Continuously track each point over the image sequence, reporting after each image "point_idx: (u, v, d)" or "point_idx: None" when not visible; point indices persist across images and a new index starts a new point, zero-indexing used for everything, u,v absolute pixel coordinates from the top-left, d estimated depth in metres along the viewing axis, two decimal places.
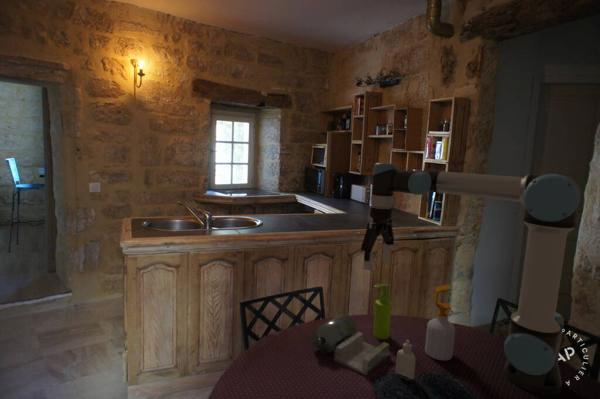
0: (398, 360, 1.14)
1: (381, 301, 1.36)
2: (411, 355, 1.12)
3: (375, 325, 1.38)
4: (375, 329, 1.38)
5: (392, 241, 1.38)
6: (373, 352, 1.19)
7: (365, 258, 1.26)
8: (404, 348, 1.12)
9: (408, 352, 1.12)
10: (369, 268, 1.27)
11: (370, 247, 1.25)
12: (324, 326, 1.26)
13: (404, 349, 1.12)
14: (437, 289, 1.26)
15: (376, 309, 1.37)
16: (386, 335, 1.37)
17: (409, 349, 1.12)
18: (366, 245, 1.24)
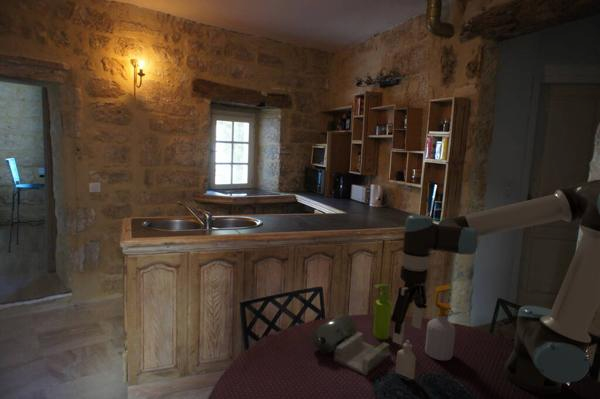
0: (398, 360, 1.14)
1: (381, 301, 1.36)
2: (411, 355, 1.12)
3: (375, 325, 1.38)
4: (375, 329, 1.38)
5: (424, 303, 1.18)
6: (373, 352, 1.19)
7: (396, 330, 1.06)
8: (404, 348, 1.12)
9: (408, 352, 1.12)
10: (400, 342, 1.06)
11: (402, 318, 1.05)
12: (324, 326, 1.26)
13: (404, 349, 1.12)
14: (437, 289, 1.26)
15: (376, 309, 1.37)
16: (386, 335, 1.37)
17: (409, 349, 1.12)
18: (398, 316, 1.04)
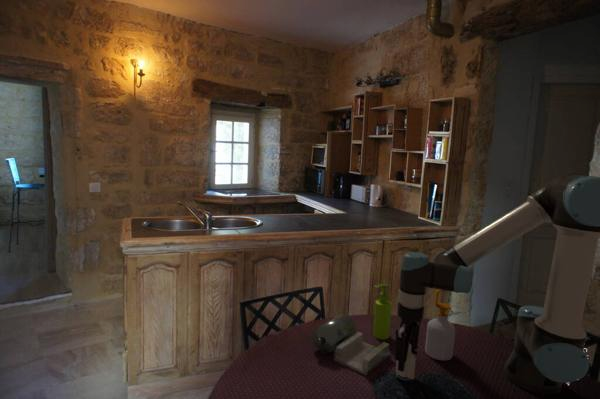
0: None
1: (381, 301, 1.36)
2: (411, 355, 1.12)
3: (375, 325, 1.38)
4: (375, 329, 1.38)
5: (415, 348, 1.16)
6: (373, 352, 1.19)
7: (399, 368, 1.11)
8: None
9: (408, 352, 1.12)
10: None
11: (404, 357, 1.10)
12: (324, 326, 1.26)
13: None
14: (437, 289, 1.26)
15: (376, 309, 1.37)
16: (386, 335, 1.37)
17: (409, 349, 1.12)
18: (400, 357, 1.08)
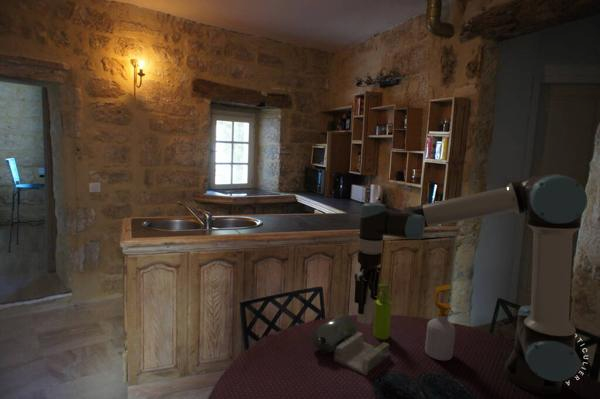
0: None
1: (381, 301, 1.36)
2: (370, 299, 1.19)
3: (375, 325, 1.38)
4: (375, 329, 1.38)
5: (375, 295, 1.23)
6: (373, 352, 1.19)
7: (359, 311, 1.19)
8: None
9: (367, 296, 1.20)
10: (363, 321, 1.19)
11: (363, 300, 1.18)
12: (324, 326, 1.26)
13: None
14: (437, 289, 1.26)
15: (376, 309, 1.37)
16: (386, 335, 1.37)
17: (368, 294, 1.20)
18: (359, 299, 1.16)
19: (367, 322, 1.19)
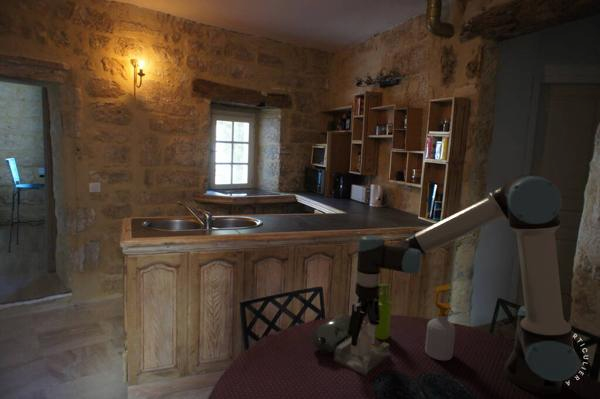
0: None
1: (381, 301, 1.36)
2: (367, 334, 1.21)
3: None
4: None
5: (377, 320, 1.27)
6: (373, 352, 1.19)
7: (352, 343, 1.18)
8: (361, 328, 1.21)
9: (364, 332, 1.21)
10: (357, 353, 1.18)
11: (357, 332, 1.17)
12: (324, 326, 1.26)
13: (361, 329, 1.21)
14: (437, 289, 1.26)
15: None
16: (386, 335, 1.37)
17: (365, 329, 1.21)
18: (353, 331, 1.15)
19: None
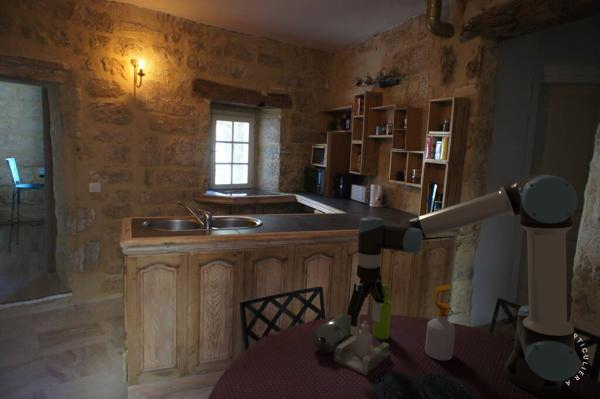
0: (357, 339, 1.23)
1: None
2: (368, 335, 1.21)
3: (375, 325, 1.38)
4: (375, 329, 1.38)
5: (382, 298, 1.27)
6: (373, 352, 1.19)
7: (352, 323, 1.15)
8: (362, 328, 1.21)
9: (365, 332, 1.21)
10: (357, 334, 1.16)
11: (357, 311, 1.15)
12: (324, 326, 1.26)
13: (362, 329, 1.21)
14: (437, 289, 1.26)
15: None
16: (386, 335, 1.37)
17: (366, 329, 1.21)
18: (352, 310, 1.13)
19: None
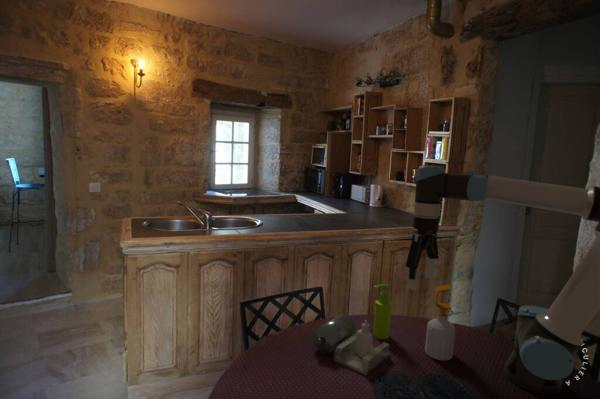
0: (357, 339, 1.23)
1: (381, 301, 1.36)
2: (368, 334, 1.21)
3: (375, 325, 1.38)
4: (375, 329, 1.38)
5: (436, 254, 1.21)
6: (373, 352, 1.19)
7: (410, 276, 1.09)
8: (362, 327, 1.22)
9: (366, 331, 1.21)
10: (415, 287, 1.10)
11: (416, 263, 1.08)
12: (324, 326, 1.26)
13: (362, 328, 1.22)
14: (437, 289, 1.26)
15: (376, 309, 1.37)
16: (386, 335, 1.37)
17: (367, 328, 1.21)
18: (412, 261, 1.07)
19: None
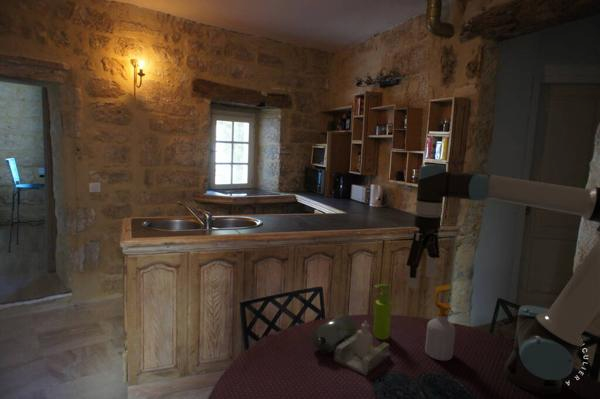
0: (357, 339, 1.23)
1: (381, 301, 1.36)
2: (368, 334, 1.21)
3: (375, 325, 1.38)
4: (375, 329, 1.38)
5: (437, 254, 1.21)
6: (373, 352, 1.19)
7: (411, 275, 1.09)
8: (362, 328, 1.22)
9: (365, 332, 1.21)
10: (415, 286, 1.10)
11: (417, 262, 1.08)
12: (324, 326, 1.26)
13: (362, 329, 1.22)
14: (437, 289, 1.26)
15: (376, 309, 1.37)
16: (386, 335, 1.37)
17: (366, 329, 1.21)
18: (413, 260, 1.07)
19: None
